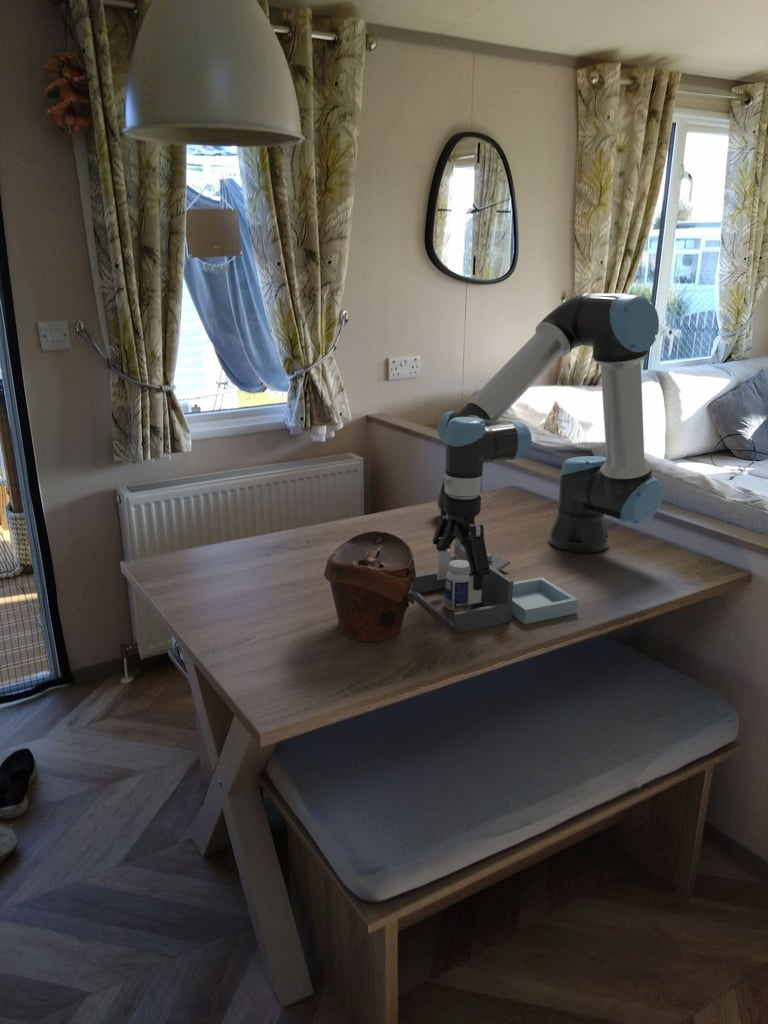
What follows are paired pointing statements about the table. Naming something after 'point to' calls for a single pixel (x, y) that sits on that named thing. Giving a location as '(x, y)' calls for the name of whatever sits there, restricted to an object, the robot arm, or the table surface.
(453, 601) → the pill bottle
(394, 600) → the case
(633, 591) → the table surface
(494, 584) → the stand
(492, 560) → the camera
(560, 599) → the tray
